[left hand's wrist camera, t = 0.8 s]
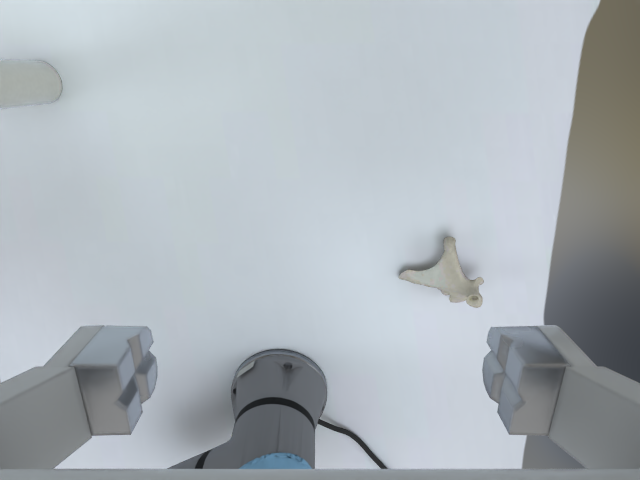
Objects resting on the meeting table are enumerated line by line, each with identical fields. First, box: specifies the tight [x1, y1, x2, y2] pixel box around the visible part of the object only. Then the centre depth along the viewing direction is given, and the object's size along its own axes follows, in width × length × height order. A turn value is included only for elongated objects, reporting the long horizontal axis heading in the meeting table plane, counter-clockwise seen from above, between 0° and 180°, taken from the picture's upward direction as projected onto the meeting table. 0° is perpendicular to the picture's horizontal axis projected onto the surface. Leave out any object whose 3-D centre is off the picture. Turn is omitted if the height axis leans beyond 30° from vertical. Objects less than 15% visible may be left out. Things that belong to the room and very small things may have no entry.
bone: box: [399, 237, 484, 308], centre depth 61 cm, size 10×6×10 cm
